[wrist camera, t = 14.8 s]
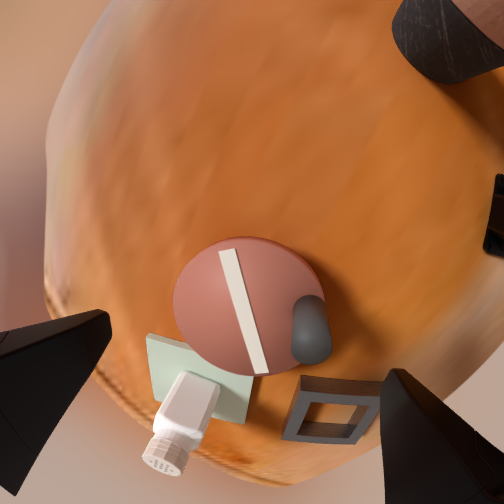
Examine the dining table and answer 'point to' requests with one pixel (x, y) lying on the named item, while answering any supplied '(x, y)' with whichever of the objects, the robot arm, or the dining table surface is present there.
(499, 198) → the robot arm
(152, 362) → the board
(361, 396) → the dark grey square frame
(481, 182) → the dining table surface
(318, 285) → the handwheel
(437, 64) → the travel mug
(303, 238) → the dining table surface
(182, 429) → the pepper shaker
